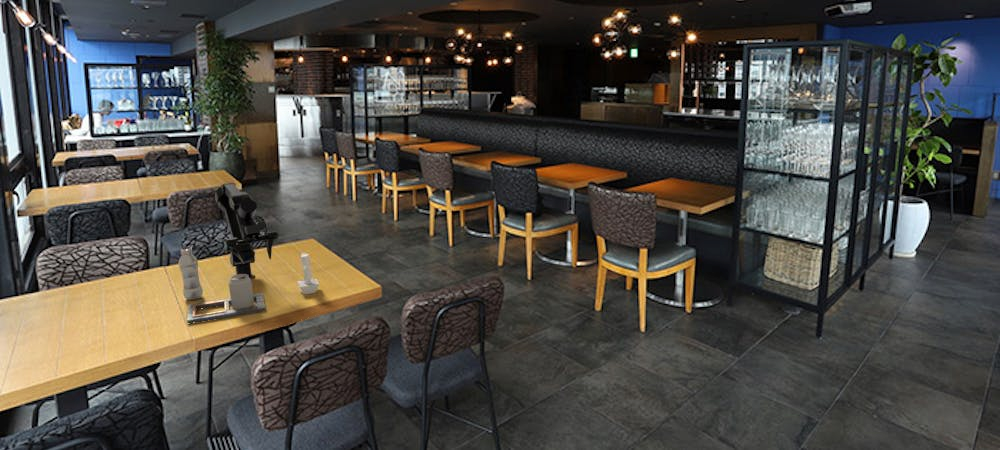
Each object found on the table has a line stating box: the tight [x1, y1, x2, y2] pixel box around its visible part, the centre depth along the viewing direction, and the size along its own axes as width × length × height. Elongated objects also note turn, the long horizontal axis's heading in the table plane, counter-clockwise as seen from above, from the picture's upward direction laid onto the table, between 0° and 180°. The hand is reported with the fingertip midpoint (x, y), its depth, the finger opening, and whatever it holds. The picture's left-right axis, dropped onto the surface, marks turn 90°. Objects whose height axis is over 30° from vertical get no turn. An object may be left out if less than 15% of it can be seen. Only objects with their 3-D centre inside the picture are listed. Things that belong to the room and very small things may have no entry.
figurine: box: [296, 252, 320, 295], centre depth 230 cm, size 7×9×15 cm
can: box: [228, 274, 255, 310], centre depth 216 cm, size 8×8×12 cm
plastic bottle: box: [177, 246, 204, 301], centre depth 224 cm, size 6×7×20 cm
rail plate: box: [186, 292, 267, 324], centre depth 216 cm, size 25×15×2 cm, turn 115°
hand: (257, 261), depth 223 cm, fingers open, 9 cm apart
